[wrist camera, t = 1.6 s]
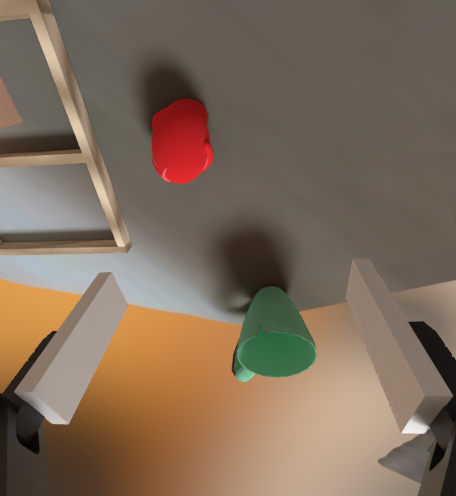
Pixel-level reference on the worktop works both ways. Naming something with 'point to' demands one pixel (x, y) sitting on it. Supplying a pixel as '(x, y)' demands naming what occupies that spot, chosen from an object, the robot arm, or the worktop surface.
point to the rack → (39, 10)
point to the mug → (273, 338)
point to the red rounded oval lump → (181, 141)
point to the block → (7, 108)
